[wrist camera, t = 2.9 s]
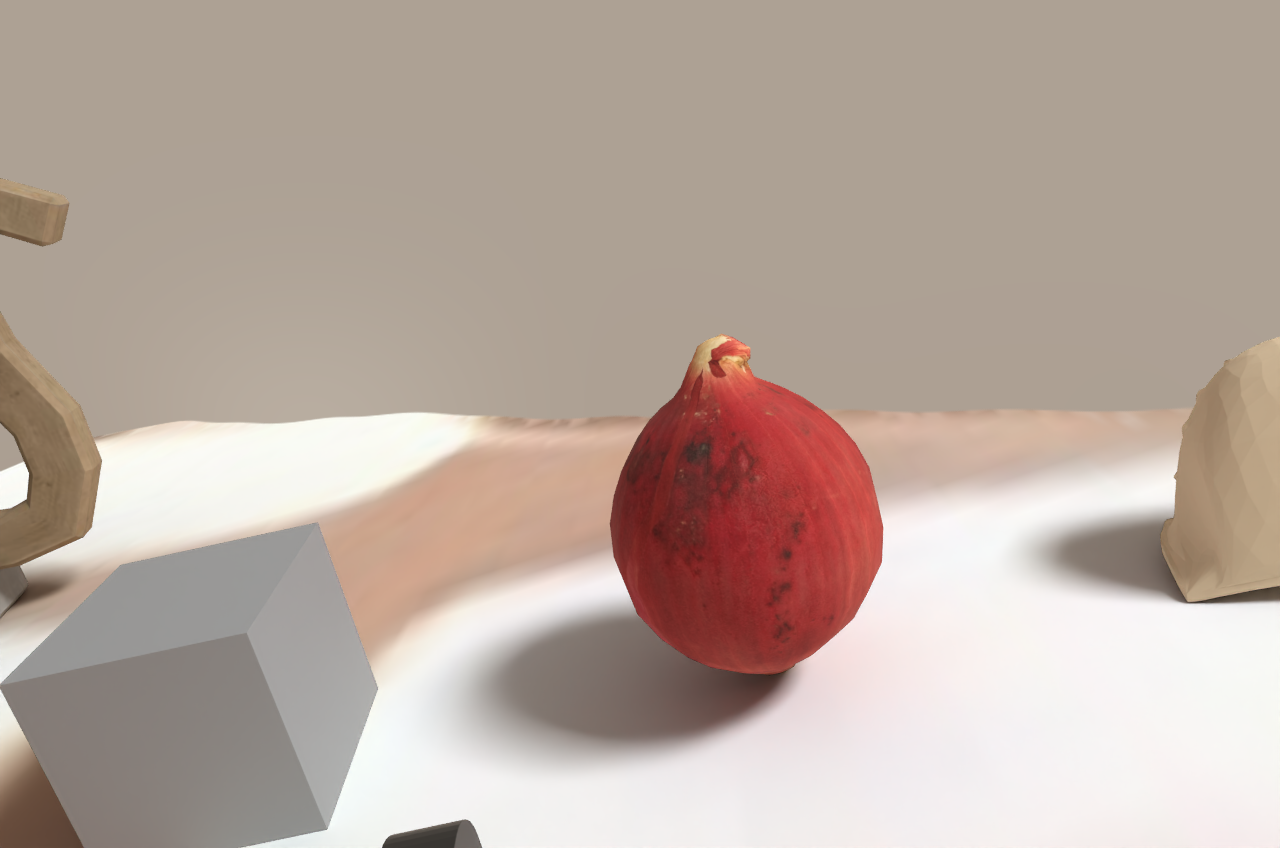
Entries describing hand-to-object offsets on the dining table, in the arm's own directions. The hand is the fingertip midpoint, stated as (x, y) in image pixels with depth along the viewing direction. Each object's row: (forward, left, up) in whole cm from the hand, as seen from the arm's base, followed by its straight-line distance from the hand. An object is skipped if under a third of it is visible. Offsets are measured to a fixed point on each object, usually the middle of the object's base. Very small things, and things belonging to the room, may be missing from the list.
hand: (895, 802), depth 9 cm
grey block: (-17, +4, -6) cm, 18 cm away
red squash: (-6, +10, -6) cm, 13 cm away
